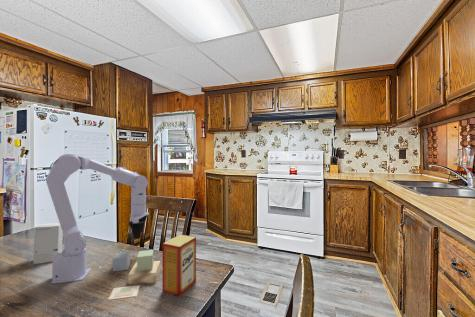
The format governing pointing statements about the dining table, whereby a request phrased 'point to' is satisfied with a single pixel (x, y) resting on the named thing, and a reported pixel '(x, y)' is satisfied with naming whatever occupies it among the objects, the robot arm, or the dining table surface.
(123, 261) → the dusty blue block
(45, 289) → the dining table surface
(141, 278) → the birch base block
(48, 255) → the skincare box
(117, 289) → the card
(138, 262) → the sage green block
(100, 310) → the dining table surface
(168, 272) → the baking soda box
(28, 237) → the dining table surface
